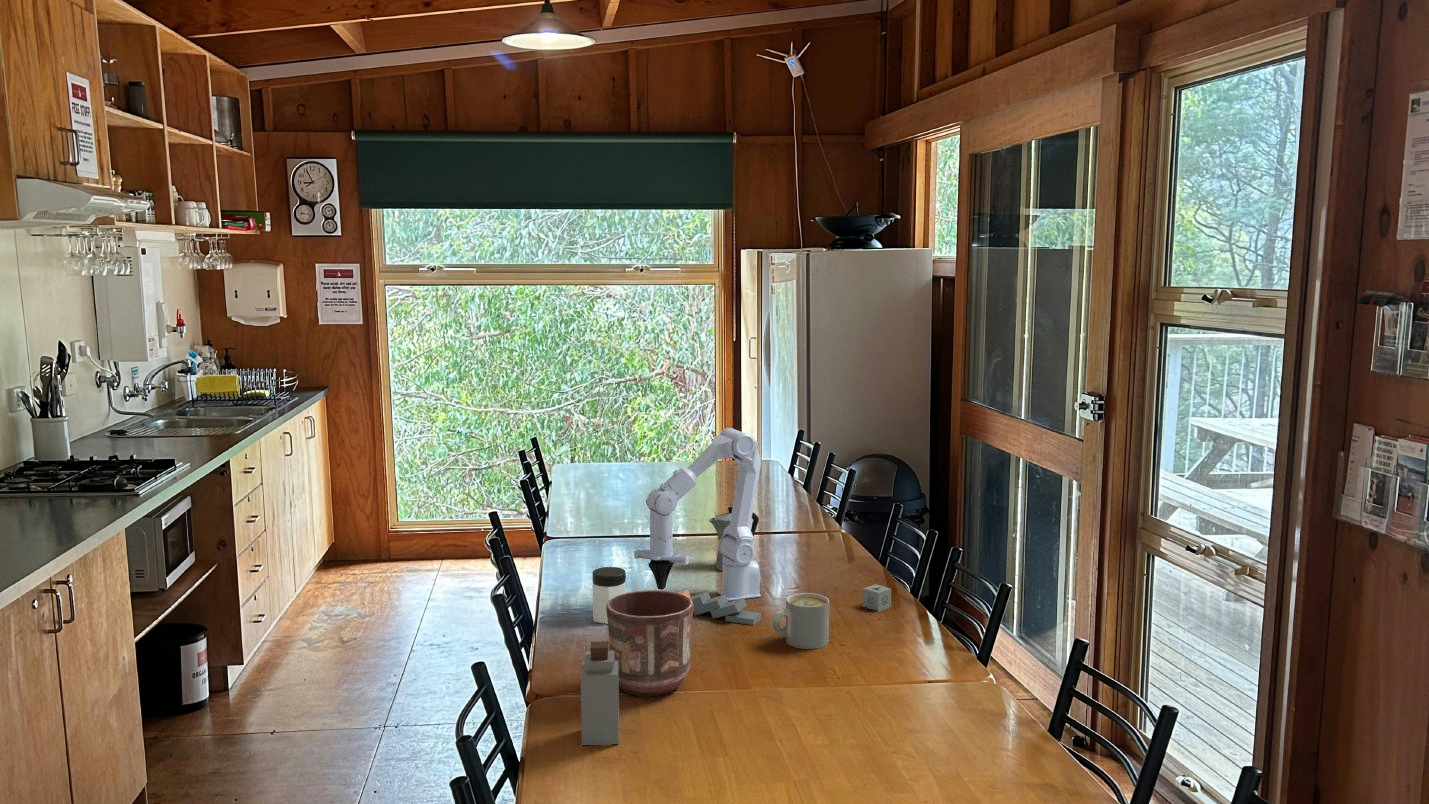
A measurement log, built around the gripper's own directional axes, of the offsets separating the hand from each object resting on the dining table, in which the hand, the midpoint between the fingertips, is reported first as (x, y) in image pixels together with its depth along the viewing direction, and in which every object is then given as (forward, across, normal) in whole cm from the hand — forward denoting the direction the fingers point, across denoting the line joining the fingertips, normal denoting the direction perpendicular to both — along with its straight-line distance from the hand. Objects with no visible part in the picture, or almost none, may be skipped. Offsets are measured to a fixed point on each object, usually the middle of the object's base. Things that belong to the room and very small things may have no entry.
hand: (661, 588), depth 264 cm
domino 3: (+4, +10, 0) cm, 11 cm away
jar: (+5, -8, -13) cm, 16 cm away
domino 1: (+4, 0, 0) cm, 4 cm away
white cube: (+5, +50, +22) cm, 55 cm away
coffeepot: (+5, +4, +39) cm, 39 cm away
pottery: (+5, +20, -44) cm, 49 cm away
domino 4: (+4, +15, 0) cm, 16 cm away
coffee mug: (+5, +40, -8) cm, 41 cm away
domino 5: (+4, +19, 0) cm, 19 cm away
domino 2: (+4, +5, 0) cm, 7 cm away
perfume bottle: (+5, +22, -69) cm, 73 cm away
